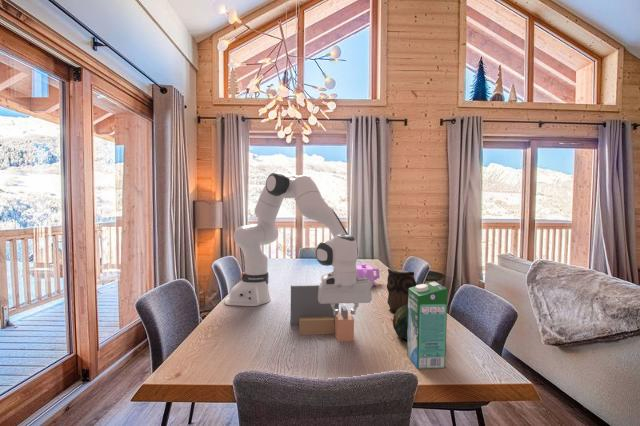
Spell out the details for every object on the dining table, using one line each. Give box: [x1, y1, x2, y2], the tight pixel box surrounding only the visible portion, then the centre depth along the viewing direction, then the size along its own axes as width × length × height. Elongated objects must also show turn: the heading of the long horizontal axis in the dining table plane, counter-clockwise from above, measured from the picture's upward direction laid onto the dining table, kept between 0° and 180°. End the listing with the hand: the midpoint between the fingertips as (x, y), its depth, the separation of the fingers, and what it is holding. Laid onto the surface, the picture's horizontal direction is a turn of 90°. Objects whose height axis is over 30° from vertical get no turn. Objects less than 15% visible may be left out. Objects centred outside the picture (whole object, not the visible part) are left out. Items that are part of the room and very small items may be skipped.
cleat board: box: [289, 284, 340, 336], centre depth 130 cm, size 20×16×16 cm
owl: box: [386, 268, 418, 315], centre depth 147 cm, size 13×13×20 cm
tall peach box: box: [334, 305, 355, 342], centre depth 120 cm, size 6×7×11 cm
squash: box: [392, 305, 408, 340], centre depth 119 cm, size 14×15×15 cm
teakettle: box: [356, 263, 381, 287], centre depth 198 cm, size 17×17×12 cm
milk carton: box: [406, 280, 449, 370], centre depth 102 cm, size 9×9×25 cm
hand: (344, 314), depth 120 cm, fingers open, 5 cm apart
